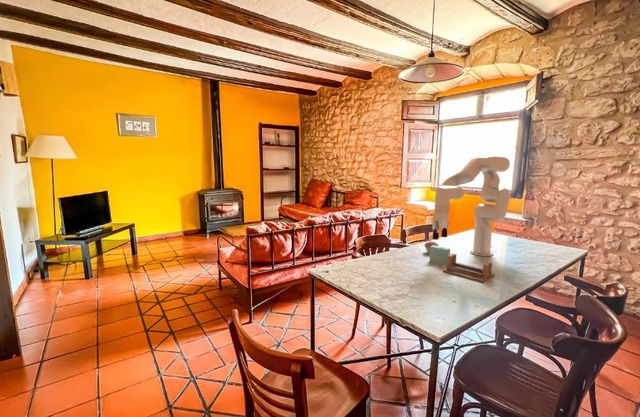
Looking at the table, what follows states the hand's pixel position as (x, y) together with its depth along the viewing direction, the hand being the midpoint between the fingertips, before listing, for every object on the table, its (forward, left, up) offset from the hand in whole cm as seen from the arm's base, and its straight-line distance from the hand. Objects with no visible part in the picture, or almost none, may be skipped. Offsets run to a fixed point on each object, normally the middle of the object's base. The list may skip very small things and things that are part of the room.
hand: (439, 238), depth 170 cm
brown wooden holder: (+5, +19, -15) cm, 25 cm away
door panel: (-1, 0, -15) cm, 15 cm away
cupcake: (-15, -13, -15) cm, 24 cm away
